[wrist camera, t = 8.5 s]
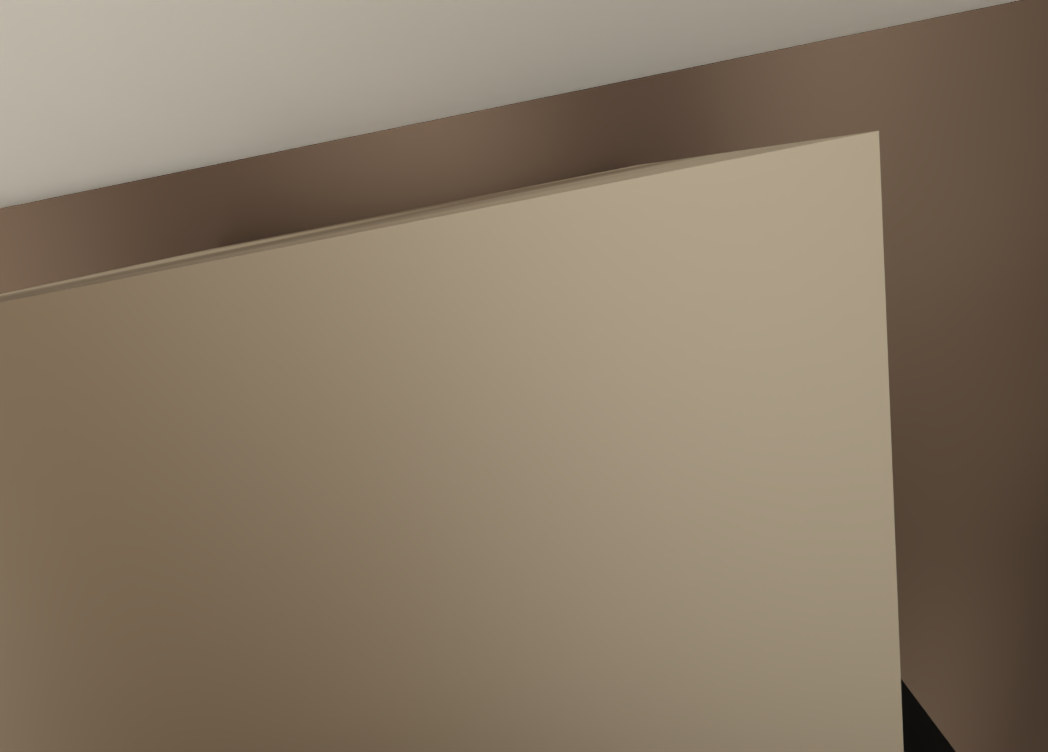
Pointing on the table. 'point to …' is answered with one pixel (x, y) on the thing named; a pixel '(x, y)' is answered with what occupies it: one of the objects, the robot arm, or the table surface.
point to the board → (909, 263)
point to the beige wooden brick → (468, 478)
